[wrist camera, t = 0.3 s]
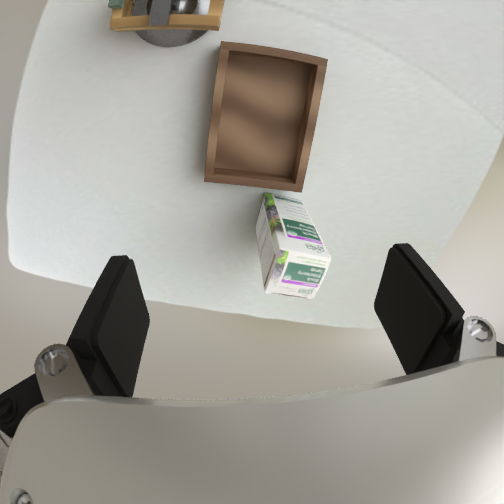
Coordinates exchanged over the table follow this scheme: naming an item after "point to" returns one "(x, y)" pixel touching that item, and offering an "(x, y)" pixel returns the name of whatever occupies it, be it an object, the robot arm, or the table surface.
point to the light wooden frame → (124, 21)
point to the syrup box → (290, 248)
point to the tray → (263, 116)
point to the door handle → (159, 8)
